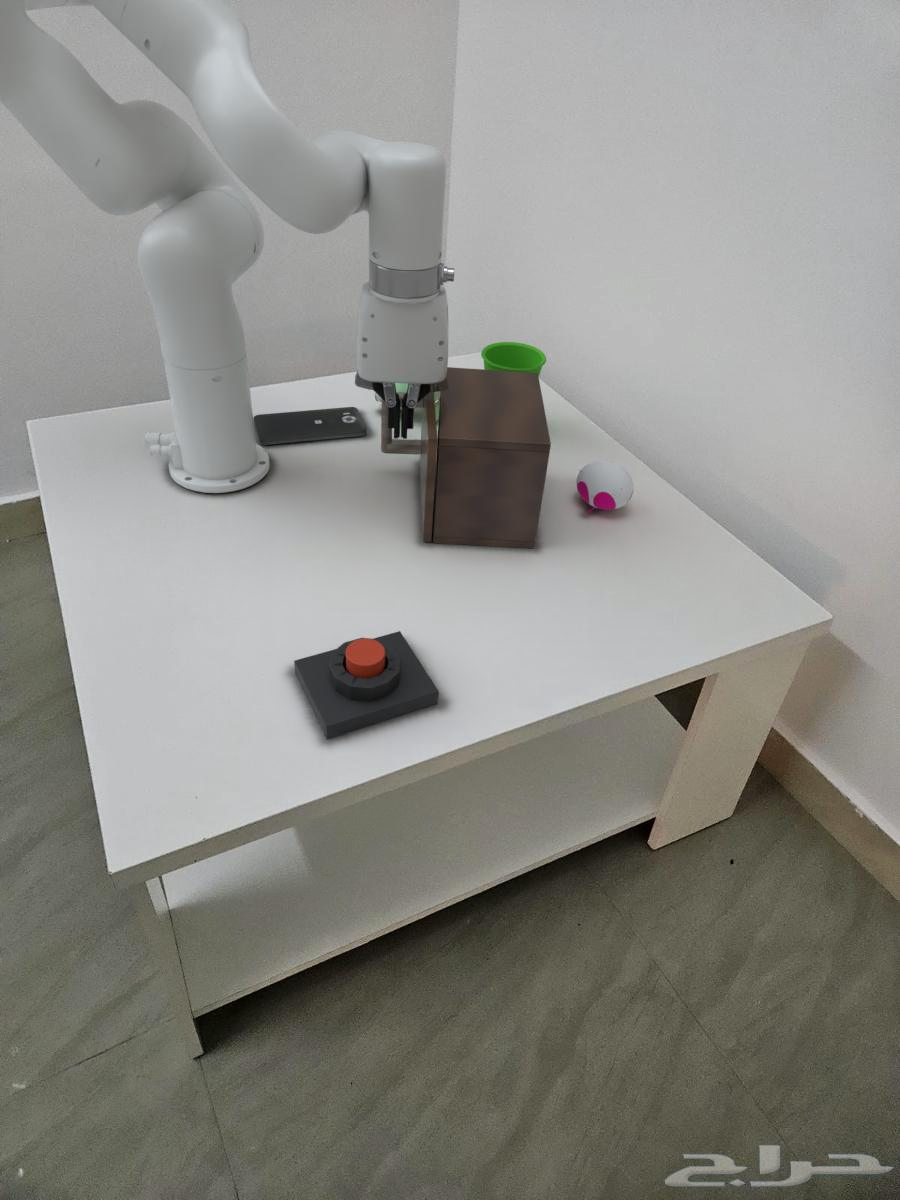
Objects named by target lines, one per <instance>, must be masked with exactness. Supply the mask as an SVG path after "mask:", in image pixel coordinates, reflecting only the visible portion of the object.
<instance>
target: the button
mask: <svg viewBox="0 0 900 1200" xmlns="http://www.w3.org/2000/svg"><path fill="white" fill-rule="evenodd" d="M357 639H358V640H355V639H354V640H355V641H353V642H352V643H350V644H349V645H348V647H347V649H346V668H347V670H348V672H349V673H350V674H351V675H353V676H355V677H358V678H371V677H375V676H377V675H379V674H380V673H381V672H382V671H383V670H384V667H385V649H384V647H383V645H382V644H381V643H379V642H378V641H376V640H373V638H371V639H359V638H357Z"/></svg>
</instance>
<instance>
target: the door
mask: <svg viewBox="0 0 900 1200" xmlns="http://www.w3.org/2000/svg"><path fill="white" fill-rule="evenodd" d="M396 393H397V394H398V395H399V399H401V408H402V399H404V394H406V392H396ZM381 404H382V410H381V409H380V410H381V414H380V415H381V417H380V418H381V419H380V420H381V422H380V428H381V429H380V434H381V435H380V452H381V453H383V454H387V455H388V454H389V455H391V454H393V455H419V477H420V499H421V500H420V501H421V502H420V503H421V523H422V524H421V527H422V529H421V530H422V542H424V543H427V542H428V543H431V542H432V539H433V538H432V537H433V535H432V534H433V523H434V506H435V480H436V457H437V440H438V427H437V422H436V413H435V404H436V401H435V399H434V392H429V393H428V394H427V395H426V396H425V397H424V398H423V399H421V400H420V401H419V402H418V403H417V405H416V407H414V409H422V410H421V430H420V439H403V438H402V439H401V438H393V428H388V406H387V405H386V402H385V401H384V400H383V399H382V402H381Z"/></svg>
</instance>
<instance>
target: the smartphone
mask: <svg viewBox="0 0 900 1200" xmlns="http://www.w3.org/2000/svg"><path fill="white" fill-rule="evenodd" d="M253 423H254V428H255V431H256V434H257V438H258V441H259V443H260V444H261V445H263V446H268V445H278V444H280V445H281V444H289V443H299V442H300V443H301V442H310V441H311V442H312V441H320V440H322V441H323V440H331V439H333V440H334V439H342V438H352V437H362V436H365V435H367V430H368V427H367V426H366V424H365V422H364V419H363V418H362V415H361V413H360V411H359V409H358V408H357V407H355V406H345V407H332V408H321V409H309V410H297V411H287V412H286V411H285V412H274V413H263V414H261V413H260V414H256V415H254V416H253Z"/></svg>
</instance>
